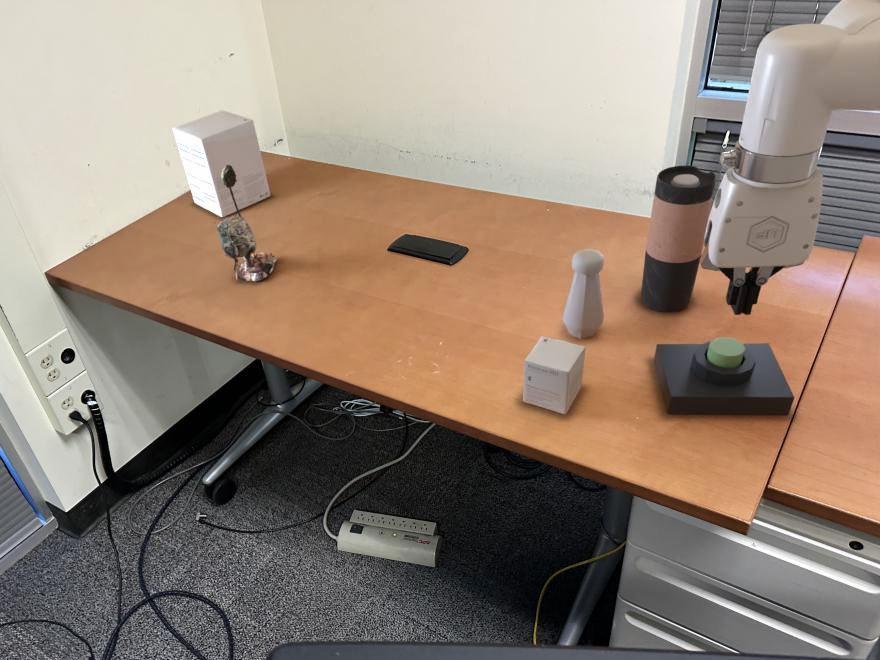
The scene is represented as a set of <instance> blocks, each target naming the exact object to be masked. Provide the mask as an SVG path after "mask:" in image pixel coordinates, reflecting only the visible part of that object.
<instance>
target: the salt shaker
mask: <svg viewBox="0 0 880 660" xmlns="http://www.w3.org/2000/svg"><path fill="white" fill-rule="evenodd" d="M604 264H605V257H604V255H603V254H602V253H601V252H600V251H599V250H597V249H592V248H584V249H581V250H578V251H576V252H575V253H574V254H572V259H571V268H572V271H574V274H573V277H572V281H571V285H570V289H569V292H568V296H567V300H566V304H565V307H564V311H563V314H562V322H563V324H564V325H565V327H566V329H567V331H568V334H569V335H570V336H572V337H575V338H577V339H580V340H581V339H587V338H591V337H594V336H595V334H596V333H597V331H598V330H599V328H600V327H601V326H602V325H603V323H604V319H605V314H604V306H603V304H604V303H603V297H602V287H601V279H600V273H601V271H602V270H603V268H604V266H605V265H604Z"/></svg>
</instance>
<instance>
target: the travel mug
mask: <svg viewBox="0 0 880 660" xmlns="http://www.w3.org/2000/svg"><path fill="white" fill-rule="evenodd" d="M716 181H717V176H716V174H715V172H714V171H710V172H704V171H702V170H700V169H699V168H698V167H697V166H695V165H674V166H669V167H667V168H665V169H662V170H661V171H659V172H658V174H657V176H656V180H655V186H654V187H655V188H654V195H653V201H652V208H651V213H650V220H649V226H648V232H647V239H646V244H645V254H644V261H643V271H642V280H641V291H640V300H641V302H642V304H643V305H644V306H645V307H647V308H648V309H651V310H653V311H657V312H661V313H662V312H663V313H674V312H680V311H682V310H684V309H686V308H687V307H689V305H690V302H691V300H692V295H693V292H694V288H695V284H696V279H697V275H698V270H699V267H700V262H699V260H700V257H701V255H702V253H703V251H704V237H705V232H706V227H707V223H708V219H709V216H710V212H711V209H712V204H713V203H712V201H713V198H714V192H715V187H716Z"/></svg>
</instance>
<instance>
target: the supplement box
mask: <svg viewBox="0 0 880 660" xmlns="http://www.w3.org/2000/svg"><path fill="white" fill-rule="evenodd" d="M172 132H173V135H174V138H175V142H176V146H177V148H178V151H179V156H180V159H181V162H182V165H183V168H184V173H185V175H186V178H187V182H188V185H189V189H190V191H191V196H192V199H193V201H194V204H196V205H198V206H200V207H201V208H203V209H205V210H207V211H209V212H211V213H212V214H215V215H217V216H218V217H221V218H225V217H227V216H229V215H231V214H234V213H237V210H236V207H235V205H234V201H233V199H232V196H231V193H230V189H229V188H227V187H226V186H225V185H224V183H223V181H222V178H221V173H222V171H223V169H224V167H225V166H226V165H231V166H232V168H233V170H234V171H235V174H236V180H237V182H235V185H234V186H233V187H231V188H232V192H233V196H234V199H235V202H236V204H237V208H238V210H239V211H241V210H243V209H245V208H247V207H249V206H252V205H254V204H256V203H258V202H260V201H263V200H266V199H268V198H269V197H271V191H270V187H269V181H268V179H267V174H266V170H265V166H264V165H265V164H264V162H263V157H262V152H261V149H260V143H259V140H258V136H257V132H256V127H255V122H254V119H252V118H248V117H245V116H242V115H239V114H236V113H232V112H229V111H226V110H218V111H216V112H213V113H211V114H208V115H205V116H203V117H200V118H198V119H197V118H196V119H195V120H192V121H188V122H186V123H184V124H180V125H178V126H174V127H172Z"/></svg>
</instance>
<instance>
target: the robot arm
mask: <svg viewBox="0 0 880 660" xmlns="http://www.w3.org/2000/svg"><path fill="white" fill-rule="evenodd" d="M753 65H754V66H753V68H752V73H751V80H750V83H749V89H748V93H747V98H746V103H745V109H744V113H743V119H742V123H741V128H740V134H739V138H738V140H737V141H735V146H734V147H733V150H729V151H725V152H721V153H720V158H719V163H720V164H719V165H720V166H722V167H724V166H727V167H728V168H727V169H726V171H725V173H724V175H723V178H722V179H721V182H720V184H719V186H718V189H717V192H716V193H715V197H714V199H713V203H712V205H711V208H710V213H709V219H708V223H707V227H706V232H705V237H704V245H703V247H704V248H703V250H702V255H701V257H700V260H699V262H700V263H699V265H700V267H701V268H702V269H703V270H708V271H714V272H721V273H722V274H723V275H724V276H725V277H726V278H727V279H729V283H728V287H727V292H726V296H725V298H726V299H725V301H726V304H727V306H730V308H731V309H732V311H733V313H734V315H735V316H740V315H741V314H744V316H749V315H751V313H752V309H753V306H754V305H757V304H758V300H759V296H760V292H761V288H762V286H764V285H766V284H767V283H768V282H769V279H770V278H771V277H773V276H774V275H776V274H778V273H779V272H780V271H782V270H783V269H790V268H794V267H799V266H802V265H803V264H804V263H805V262H806V261H808V259H809V258H810V256H811V254H812V251H813V247H814V245H815V240H816V235H817V231H818V227H819V220H820V214H821V213H820V212H821V209H822V200H823V192H824V191H823V190H824V174H823V172H822V171H820V170H819V169H818V168H817V166H818V163H819V160H820V156H821V154H822V153H821V152H822V149H823V145H824V141H825V138H826V134H827V131H828V127H829V124H830V121H831V117H832V114H833V112H835V111H858V112H859V111H861V112H880V0H840V1H839V2H837V4H836V5H835V6H834V7H833V8H832V9H831V10H830V11H829V12H828V13H827V14H826V16H825V17H824V18H823V19H822V20H821V22H820V23H800V24H799V23H798V24H797V23H796V24H791V25H786V26H781V27H779V28H775V29H774V30H772V31H770V32H768V33H767V34H766V35H765V36H764V37H763V38H762V40H761V41H760V43H759V45H758V47H757V50H756V54H755V58H754V64H753ZM746 268H749V271H747V272H746V270H747V269H746Z"/></svg>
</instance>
